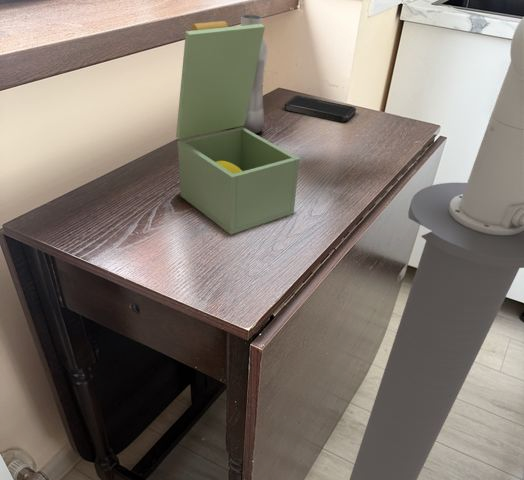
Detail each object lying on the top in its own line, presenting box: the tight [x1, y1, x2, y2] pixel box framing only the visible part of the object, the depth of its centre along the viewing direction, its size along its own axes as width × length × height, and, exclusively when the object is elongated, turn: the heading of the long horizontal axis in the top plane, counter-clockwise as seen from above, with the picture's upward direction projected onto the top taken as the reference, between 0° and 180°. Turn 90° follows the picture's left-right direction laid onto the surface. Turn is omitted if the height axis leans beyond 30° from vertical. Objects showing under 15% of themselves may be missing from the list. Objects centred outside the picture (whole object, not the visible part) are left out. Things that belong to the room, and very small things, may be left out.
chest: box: [177, 127, 300, 235], centre depth 78 cm, size 14×12×9 cm
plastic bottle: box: [233, 14, 268, 135], centre depth 97 cm, size 6×7×20 cm
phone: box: [284, 95, 357, 123], centre depth 115 cm, size 8×1×15 cm
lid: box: [175, 20, 266, 140], centre depth 73 cm, size 15×12×5 cm
